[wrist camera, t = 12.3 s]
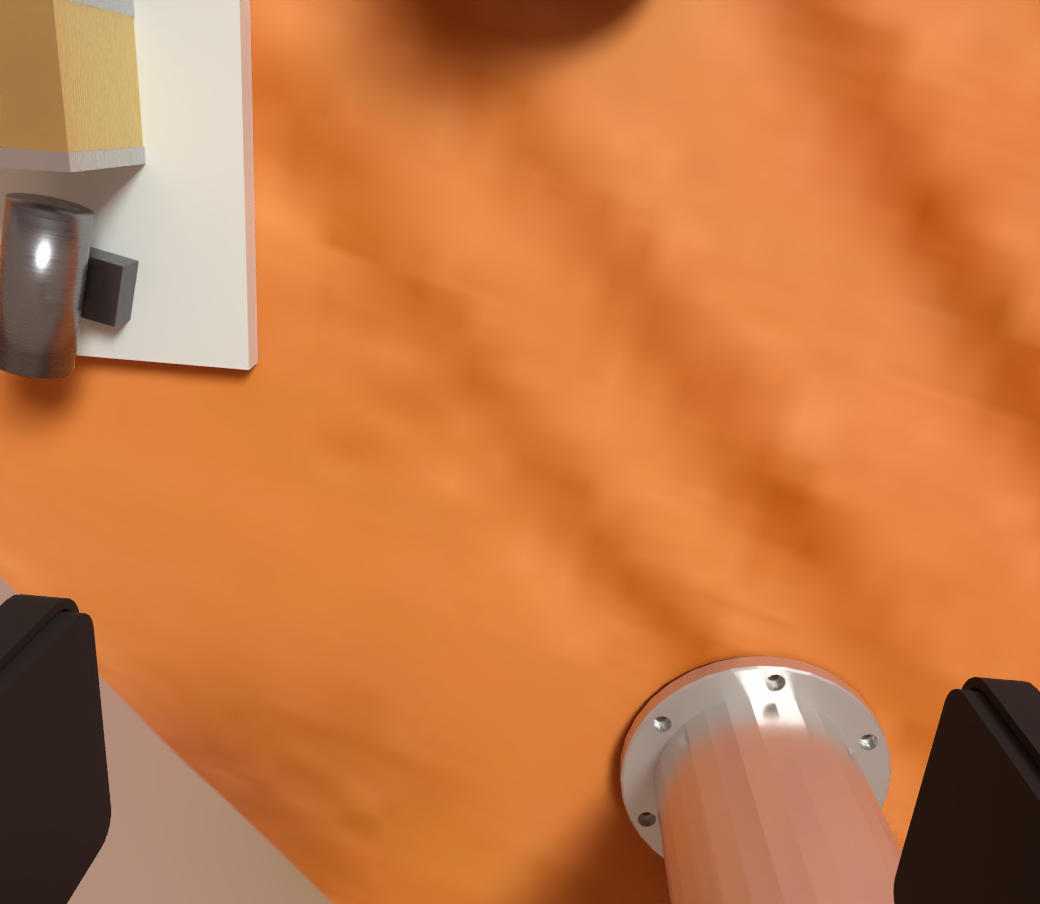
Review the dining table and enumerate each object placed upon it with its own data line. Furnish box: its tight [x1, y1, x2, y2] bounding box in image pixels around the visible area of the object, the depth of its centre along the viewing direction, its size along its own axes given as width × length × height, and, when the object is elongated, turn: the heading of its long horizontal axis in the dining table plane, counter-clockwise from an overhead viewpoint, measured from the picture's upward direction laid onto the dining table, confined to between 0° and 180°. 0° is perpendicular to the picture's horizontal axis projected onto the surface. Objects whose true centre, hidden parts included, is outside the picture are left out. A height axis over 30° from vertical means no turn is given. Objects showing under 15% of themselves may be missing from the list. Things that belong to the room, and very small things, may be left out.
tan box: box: [0, 0, 146, 172], centre depth 31 cm, size 6×4×6 cm
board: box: [0, 0, 258, 370], centre depth 34 cm, size 21×12×1 cm, turn 176°
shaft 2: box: [0, 193, 139, 378], centre depth 34 cm, size 6×4×4 cm
